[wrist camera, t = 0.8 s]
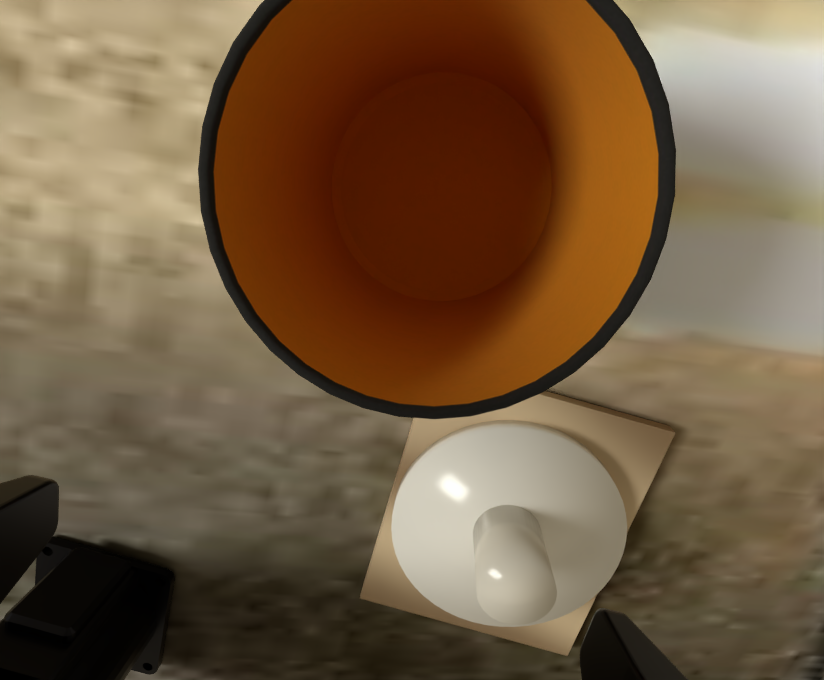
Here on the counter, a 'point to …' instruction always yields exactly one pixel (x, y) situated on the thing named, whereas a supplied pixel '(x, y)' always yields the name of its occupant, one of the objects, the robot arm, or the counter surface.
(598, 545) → the lid
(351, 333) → the mug
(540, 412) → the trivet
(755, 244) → the counter surface
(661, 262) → the counter surface
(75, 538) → the counter surface
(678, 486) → the counter surface
